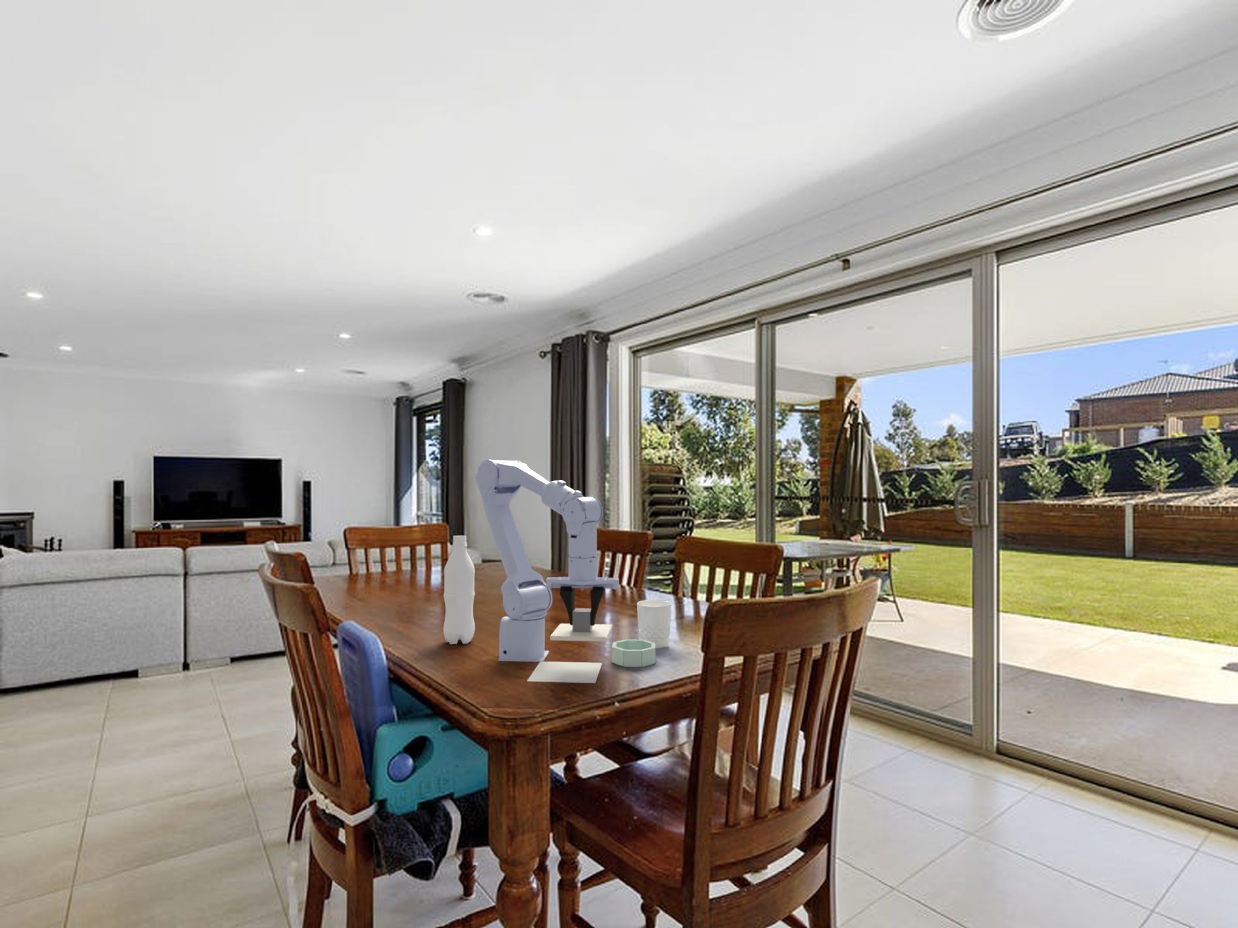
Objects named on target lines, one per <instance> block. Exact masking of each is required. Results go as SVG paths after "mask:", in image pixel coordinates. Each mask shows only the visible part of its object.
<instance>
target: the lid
mask: <svg viewBox="0 0 1238 928" xmlns="http://www.w3.org/2000/svg"><path fill="white" fill-rule="evenodd" d="M574 608H575V607H574ZM590 619H591V608H589V607H588V608H580V607H576V608H575V609H574V610H573V625H570V623H559V625H558V626H556V628H555V629H554V631H553V632H552V633H551V635H550V637H549V640H550V641H565V642H567V641H568V642H571V641H572V642H608V640H609V637H610V635H611V633H612V631H613V624H603V623H602V624H598V623H597V624H596V623H595V625H594V626H591V625H590Z"/></svg>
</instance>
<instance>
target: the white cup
mask: <svg viewBox="0 0 1238 928" xmlns="http://www.w3.org/2000/svg"><path fill="white" fill-rule="evenodd" d="M636 608H637V627H638V636H639V637H638V640H646V641H650V642H653V643H655V649H661V648H669V647H670V635H671V621H672V618H671V617H672V616H671V615H672V602H671V601H668V600H662V599H644V600H640V601H638V602H637V603H636Z"/></svg>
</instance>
